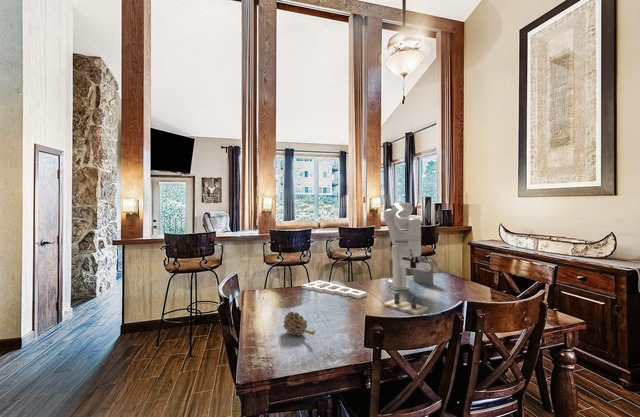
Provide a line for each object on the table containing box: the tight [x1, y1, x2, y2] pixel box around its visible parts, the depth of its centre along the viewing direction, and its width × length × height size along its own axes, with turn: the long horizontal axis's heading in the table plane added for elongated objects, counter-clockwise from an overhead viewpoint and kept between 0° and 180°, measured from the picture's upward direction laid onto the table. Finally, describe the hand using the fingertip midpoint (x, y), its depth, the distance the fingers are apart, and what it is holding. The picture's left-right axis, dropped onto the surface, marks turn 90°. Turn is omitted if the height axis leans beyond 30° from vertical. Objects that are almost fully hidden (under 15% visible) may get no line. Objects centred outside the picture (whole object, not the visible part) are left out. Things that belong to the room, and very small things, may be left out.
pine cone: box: [283, 311, 316, 337], centre depth 143 cm, size 22×10×10 cm, turn 47°
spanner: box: [400, 259, 431, 271], centre depth 190 cm, size 20×4×4 cm, turn 45°
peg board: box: [383, 292, 429, 316], centre depth 179 cm, size 22×12×8 cm, turn 44°
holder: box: [301, 280, 368, 300], centre depth 213 cm, size 45×18×3 cm, turn 45°
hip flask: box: [412, 256, 434, 286], centre depth 233 cm, size 16×4×20 cm, turn 43°
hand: (414, 267), depth 190 cm, fingers closed on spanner, 4 cm apart
